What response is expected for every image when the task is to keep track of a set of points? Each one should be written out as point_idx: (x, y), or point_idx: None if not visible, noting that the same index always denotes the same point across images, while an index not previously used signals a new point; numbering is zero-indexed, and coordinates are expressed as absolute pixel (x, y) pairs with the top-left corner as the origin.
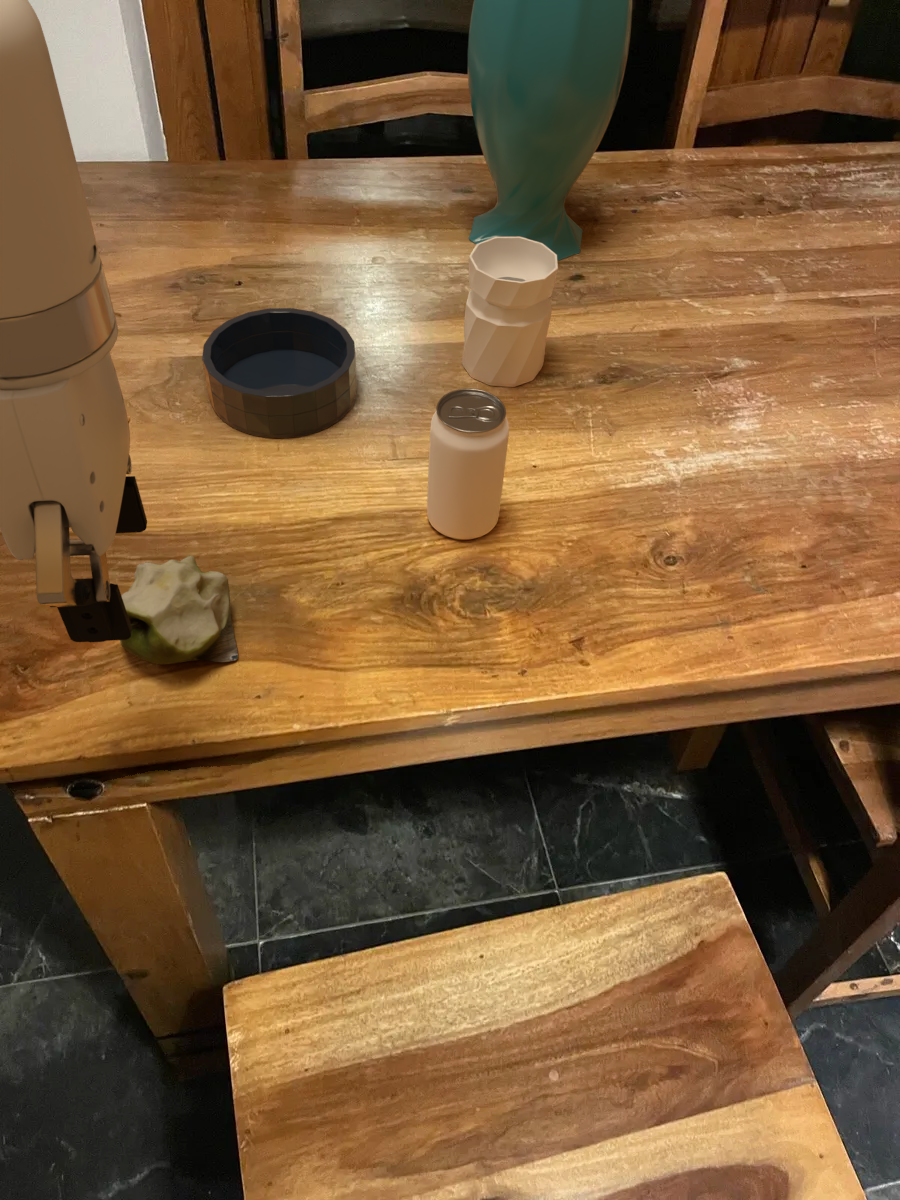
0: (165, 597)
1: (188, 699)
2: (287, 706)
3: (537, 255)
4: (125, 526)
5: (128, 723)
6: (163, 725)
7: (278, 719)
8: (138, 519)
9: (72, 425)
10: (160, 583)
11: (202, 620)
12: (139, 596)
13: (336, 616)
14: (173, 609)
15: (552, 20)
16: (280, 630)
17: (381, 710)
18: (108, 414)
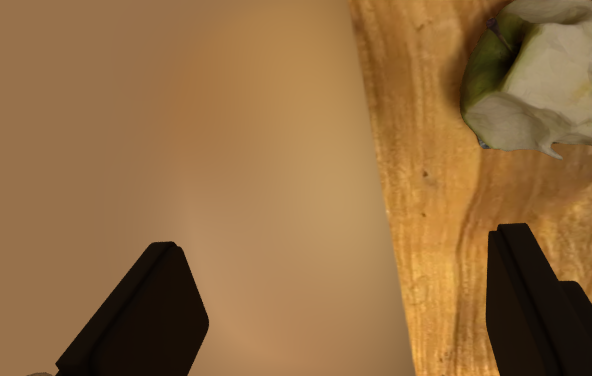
0: (553, 99)
1: (424, 99)
2: (411, 203)
3: None
4: (491, 310)
5: (389, 33)
6: (386, 77)
7: (394, 196)
8: (496, 355)
9: None
10: (589, 85)
11: (519, 135)
12: (561, 58)
13: (540, 242)
14: (529, 110)
15: None
16: (527, 187)
17: (404, 280)
18: None
